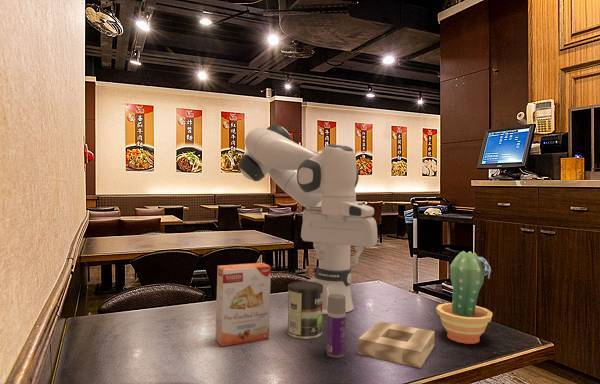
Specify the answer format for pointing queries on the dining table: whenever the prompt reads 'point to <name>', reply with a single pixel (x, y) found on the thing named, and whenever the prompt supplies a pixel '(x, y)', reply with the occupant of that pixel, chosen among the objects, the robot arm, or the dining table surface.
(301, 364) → the dining table surface
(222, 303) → the cracker box
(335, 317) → the container
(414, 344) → the organizer block
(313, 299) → the coffee can
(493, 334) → the dining table surface
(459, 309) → the potted cactus
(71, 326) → the dining table surface
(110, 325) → the dining table surface
